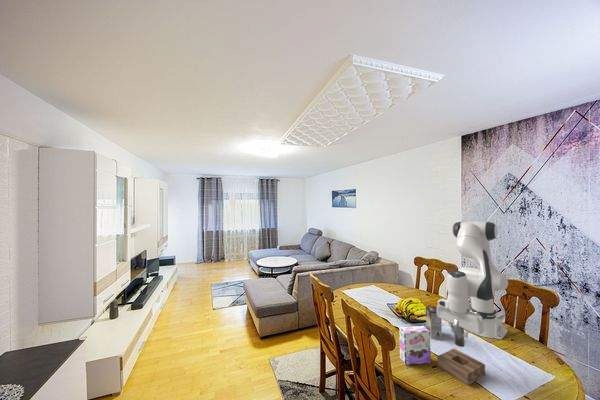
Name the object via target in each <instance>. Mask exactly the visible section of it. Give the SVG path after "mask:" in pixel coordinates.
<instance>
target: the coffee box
mask: <svg viewBox="0 0 600 400" xmlns="http://www.w3.org/2000/svg"><path fill="white" fill-rule="evenodd" d="M425 325H426V327H425V328H427V329H428V330H429V331H430V339H434V340H443V336H442V335H443V332H442V331H443V330H442V327H443V326H442V319H441V318H439V317H438V316H437V306H436V305H425Z"/></svg>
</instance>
